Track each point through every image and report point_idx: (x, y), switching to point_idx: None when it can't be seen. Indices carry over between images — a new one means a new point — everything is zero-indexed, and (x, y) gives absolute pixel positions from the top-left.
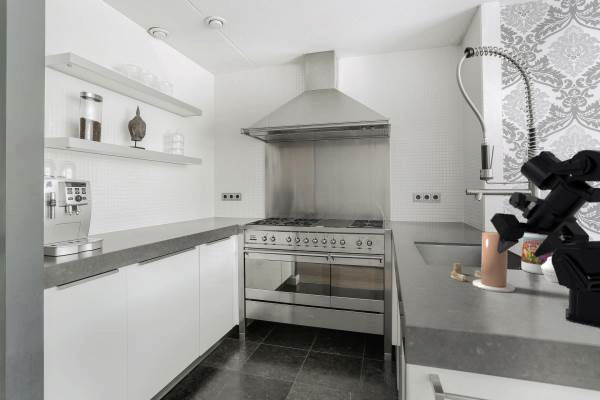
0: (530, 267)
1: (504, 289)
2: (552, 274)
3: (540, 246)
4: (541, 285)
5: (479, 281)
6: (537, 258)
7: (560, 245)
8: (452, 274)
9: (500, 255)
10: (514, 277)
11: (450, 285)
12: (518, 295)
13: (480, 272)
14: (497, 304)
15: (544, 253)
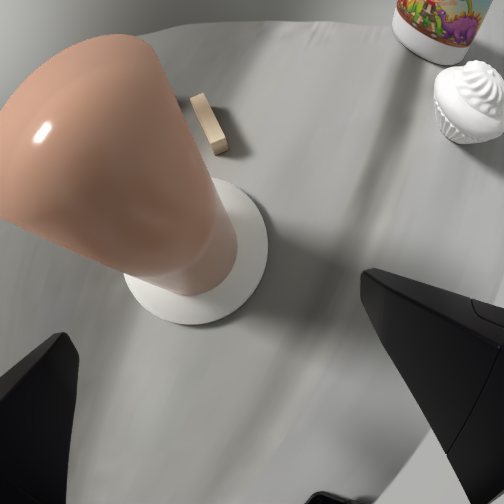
0: (412, 39)
1: (201, 318)
2: (455, 128)
3: (410, 314)
4: (399, 182)
5: None
6: (438, 24)
7: (475, 484)
8: None
9: (132, 268)
10: (341, 97)
11: (55, 268)
12: (241, 353)
13: (198, 117)
14: (124, 457)
15: (396, 366)
